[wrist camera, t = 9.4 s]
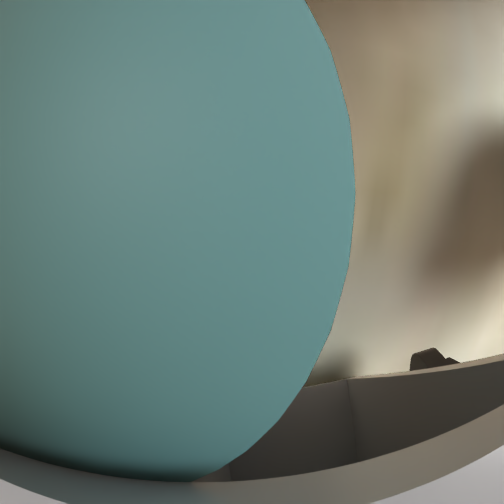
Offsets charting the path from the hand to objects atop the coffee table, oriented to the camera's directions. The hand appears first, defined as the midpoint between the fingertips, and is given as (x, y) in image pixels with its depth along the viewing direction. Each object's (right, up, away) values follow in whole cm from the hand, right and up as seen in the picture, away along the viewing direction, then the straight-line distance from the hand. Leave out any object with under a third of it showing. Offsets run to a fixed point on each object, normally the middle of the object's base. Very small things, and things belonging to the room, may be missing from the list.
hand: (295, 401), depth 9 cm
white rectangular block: (-1, +2, -3) cm, 3 cm away
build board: (-6, +7, +1) cm, 9 cm away
